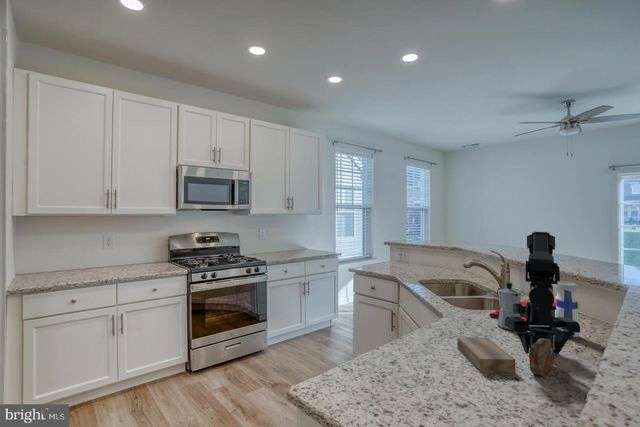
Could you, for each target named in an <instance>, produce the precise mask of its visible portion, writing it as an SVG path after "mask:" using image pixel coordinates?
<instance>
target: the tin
mask: <svg viewBox="0 0 640 427" xmlns="http://www.w3.org/2000/svg"><path fill="white" fill-rule="evenodd" d="M528 358H529V368H530V372H531V374H534V375H537V376H541V377H545V376H546V375H547V373H548V372H549V371H551V369H552V368H553V366H554V362H555V361H554V360H555V353H554V348H553V343H552V341H551V340H550V339H544V338H540V339H538V340H537V341H536V342H535V343H534V344H533V345H532V346H531V347H530V348H529V353H528Z"/></svg>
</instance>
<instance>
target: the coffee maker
mask: <svg viewBox="0 0 640 427" xmlns="http://www.w3.org/2000/svg"><path fill="white" fill-rule="evenodd" d="M512 287H513V282H506V287H498V288H497V290H496V295H497V298H498V301H499V302H498V303H499V306H500V308H501V309H500V313H499V319H497V324H496V325H497V326H498V327H499V328H500V329H505V330H510V331H512V330H511V329H510V328H508V327H507V326H505V319H506V317H520V315H519V314H514V312H513V304H515V303H520V302H521V299H522V292H521V291H519V290H516V289H514V288H512Z"/></svg>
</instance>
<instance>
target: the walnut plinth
mask: <svg viewBox="0 0 640 427" xmlns="http://www.w3.org/2000/svg"><path fill="white" fill-rule="evenodd" d="M456 340H457V343H456V344H457V346H456V347H457V350H458V351H459V352H460V354H462V355H463V356H464V357H465V359H466V360H468V362H469V363H470V364H471V365H472V366H473V367H474V368H475V369H476V370H477V371H478V372H479V373H482V374H516V359H515V358H514V357H513V356H511V355H510V354H509V353H508V352H506V351H505V350H504V349H503V348H501V347H500V346H499V345H498V344H496V343H495V342H494V341H492V340H491V339H490V338H488V337H480V336H478V337H477V336H476V337H475V336H474V337H472V336H471V337H470V336H468V337H467V336H466V337H464V336H463V337H461V336H459V337H458V336H457V339H456Z"/></svg>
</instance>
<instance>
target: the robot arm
mask: <svg viewBox="0 0 640 427" xmlns="http://www.w3.org/2000/svg"><path fill="white" fill-rule="evenodd" d="M550 233H551V232H549V231H533V232H531V234H529V235H527V236H526V249H528V251H529V253H528V260H526V261H525V282H527V283H529V292H528V300H530V301H527V306H522V304H521V303H515V304H513V312H514V314H519V315H520V317H525V318H527V320H523V319H522V318H520V317H506V319H505V326H507V327H508V328H510V329H511V330H510V331H513V332H516V333H515V334H517V336H518V338H519V340H520V343H521V345H522V347H523V350H524V353H525V354H527V355H529V351H530V347H531V346H532V345H533V344H534V343H535V342H536V341H537V340H538V339H540V338H544V339H550V340H551V341H552V343H553V348H554V354H556V355H559V354H560V353H561V351H562V349H563V348H564V346H565V344H566V343H567V342H568V341H569V340H570V339H571V338H572V337H571V336H572V335H575V333H579V334H580V333H581V325H580V324H579V321H578V322H576V321H574V320H572V319H569V318H567V317H555V312H554V311H553V310H556V306H553V303H554V301H555V296H554V295H555V294H554V286H553V285H554V284H557V285H558V281H561V275H560V274H561V272H560V266H559V265H558V262H555V259H554V257H555V256H554V255H553V253H554V251H555V250H556V236H555V235H552V234H550Z"/></svg>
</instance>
